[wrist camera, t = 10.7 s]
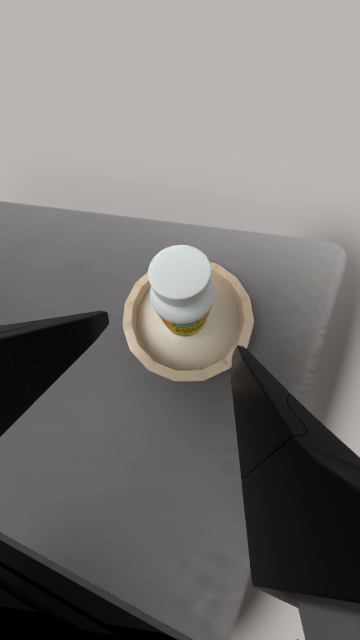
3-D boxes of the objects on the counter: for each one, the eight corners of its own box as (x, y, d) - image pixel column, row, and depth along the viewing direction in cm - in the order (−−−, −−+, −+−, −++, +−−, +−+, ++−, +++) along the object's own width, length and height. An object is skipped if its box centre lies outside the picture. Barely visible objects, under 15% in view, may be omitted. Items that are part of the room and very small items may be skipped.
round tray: (225, 400, 15) (232, 406, 13) (111, 350, 18) (100, 349, 16) (256, 287, 19) (265, 277, 17) (158, 259, 22) (154, 246, 19)
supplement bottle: (192, 291, 19) (195, 223, 10) (214, 324, 17) (242, 282, 8) (157, 309, 18) (124, 257, 9) (176, 345, 17) (159, 326, 8)
